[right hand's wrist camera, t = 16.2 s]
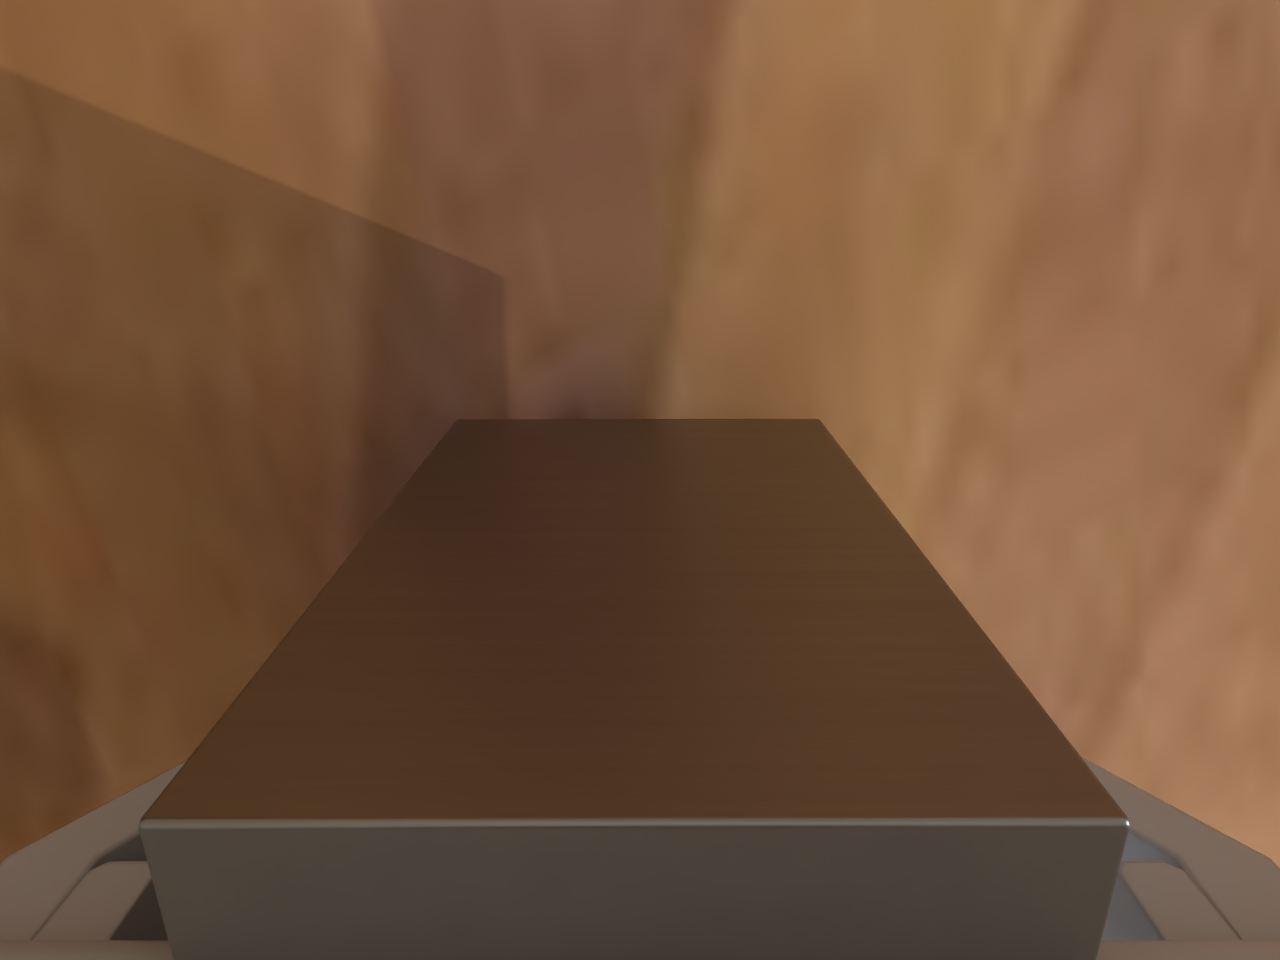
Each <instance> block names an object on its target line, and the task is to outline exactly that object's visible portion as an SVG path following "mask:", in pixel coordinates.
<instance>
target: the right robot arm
mask: <svg viewBox="0 0 1280 960" xmlns="http://www.w3.org/2000/svg"><path fill="white" fill-rule="evenodd" d="M1081 758H1082V757H1081ZM1082 759H1083V760H1084V762H1085V763H1086V764H1087V765H1088V767H1089V768H1090V769H1091V771H1092V772H1093V773H1094V775H1095V776H1096V777H1097V778H1098V780H1099V781H1100V782H1101V784H1102V785H1103V786H1104V787H1105V789H1106V790H1107V791H1108V793H1109V794H1110V795H1111V796H1112V798H1113V799H1114V800H1115V802H1116V803H1117V804H1118V805H1119V807H1120V808H1121V809H1122V811H1123V812H1124V813H1125V815H1126V816H1127V817H1128V821H1129V826H1130V828H1129V832H1128V836H1127V840H1126V844H1125V848H1124V852H1123V856H1122V860H1121V864H1120V867H1119V871H1118V875H1117V879H1116V883H1115V887H1114V891H1113V895H1112V899H1111V903H1110V907H1109V910H1108V914H1107V918H1106V922H1105V926H1104V930H1103V934H1102V938H1101V942H1100V946H1099V950H1098V953H1097V957H1096V960H1280V868H1279V867H1278V866H1277V865H1276V864H1275V863H1274V862H1273V861H1272V860H1271V859H1270V858H1268V857H1266V856H1264V855H1262V854H1261V853H1259V852H1257V851H1255V850H1253V849H1251V848H1249V847H1248V846H1246V845H1244V844H1242V843H1240V842H1238V841H1236V840H1235V839H1233V838H1231V837H1229V836H1227V835H1225V834H1223V833H1222V832H1220V831H1218V830H1216V829H1214V828H1212V827H1210V826H1209V825H1207V824H1205V823H1203V822H1201V821H1199V820H1197V819H1196V818H1194V817H1192V816H1190V815H1188V814H1186V813H1184V812H1183V811H1181V810H1179V809H1177V808H1175V807H1173V806H1172V805H1170V804H1168V803H1166V802H1164V801H1162V800H1160V799H1159V798H1157V797H1155V796H1153V795H1151V794H1149V793H1147V792H1146V791H1144V790H1142V789H1140V788H1138V787H1136V786H1134V785H1133V784H1131V783H1129V782H1127V781H1125V780H1123V779H1121V778H1120V777H1118V776H1116V775H1114V774H1112V773H1110V772H1108V771H1107V770H1105V769H1103V768H1101V767H1099V766H1097V765H1095V764H1094V763H1092V762H1090V761H1088V760H1086V759H1084V758H1082ZM185 762H186V761H185ZM185 762H183V763H181V764H179V765H177V766H175V767H174V768H172V769H170V770H168V771H166V772H164V773H162V774H160V775H159V776H157V777H155V778H153V779H151V780H149V781H147V782H146V783H144V784H142V785H140V786H138V787H136V788H134V789H132V790H131V791H129V792H127V793H125V794H123V795H121V796H119V797H117V798H116V799H114V800H112V801H110V802H108V803H106V804H104V805H102V806H101V807H99V808H97V809H95V810H93V811H91V812H89V813H87V814H86V815H84V816H82V817H80V818H78V819H76V820H74V821H72V822H71V823H69V824H67V825H65V826H63V827H61V828H59V829H58V830H56V831H54V832H52V833H50V834H48V835H46V836H44V837H43V838H41V839H39V840H37V841H35V842H33V843H31V844H29V845H28V846H26V847H24V848H22V849H20V850H18V851H16V852H14V853H13V854H11V855H9V856H7V857H5V858H4V859H3V860H2V861H1V862H0V960H174V959H173V956H172V952H171V948H170V944H169V941H168V937H167V933H166V929H165V926H164V922H163V918H162V915H161V911H160V907H159V903H158V900H157V896H156V892H155V888H154V885H153V881H152V877H151V874H150V870H149V866H148V862H147V859H146V855H145V851H144V847H143V844H142V840H141V836H140V833H139V823H140V820H141V818H142V817H143V815H144V814H145V813H146V811H147V810H148V809H149V808H150V806H151V805H152V804H153V803H154V801H155V800H156V799H157V798H158V796H159V795H160V794H161V793H162V791H163V790H164V789H165V788H166V786H167V785H168V784H169V782H170V781H171V780H172V779H173V777H174V776H175V775H176V774H177V772H178V771H179V770H180V769H181V767H182V766H183V765H184V764H185Z"/></svg>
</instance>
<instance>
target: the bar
mask: <svg viewBox="0 0 1280 960" xmlns="http://www.w3.org/2000/svg"><path fill="white" fill-rule="evenodd" d="M1129 828H1130V826H1129V821H1128V817H1127V816H1126V815H1125V813H1124V812H1123V811H1122V809H1121V808H1120V807H1119V805H1118V804H1117V803H1116V802H1115V800H1114V799H1113V798H1112V796H1111V795H1110V794H1109V793H1108V791H1107V790H1106V789H1105V787H1104V786H1103V785H1102V784H1101V782H1100V781H1099V780H1098V778H1097V777H1096V776H1095V775H1094V773H1093V772H1092V771H1091V769H1090V768H1089V767H1088V765H1087V764H1086V763H1085V762H1084V760H1083V759H1082V758H1081V756H1080V755H1079V754H1078V753H1077V751H1076V750H1075V749H1074V747H1073V746H1072V745H1071V744H1070V742H1069V741H1068V740H1067V738H1066V737H1065V736H1064V735H1063V733H1062V732H1061V731H1060V729H1059V728H1058V727H1057V725H1056V724H1055V723H1054V722H1053V720H1052V719H1051V718H1050V716H1049V715H1048V714H1047V713H1046V711H1045V710H1044V709H1043V707H1042V706H1041V705H1040V704H1039V702H1038V701H1037V700H1036V698H1035V697H1034V696H1033V694H1032V693H1031V692H1030V691H1029V689H1028V688H1027V687H1026V685H1025V684H1024V683H1023V682H1022V680H1021V679H1020V678H1019V676H1018V675H1017V674H1016V673H1015V671H1014V670H1013V669H1012V667H1011V666H1010V665H1009V664H1008V662H1007V661H1006V660H1005V658H1004V657H1003V656H1002V654H1001V653H1000V652H999V651H998V649H997V648H996V647H995V645H994V644H993V643H992V642H991V640H990V639H989V638H988V636H987V635H986V634H985V633H984V631H983V630H982V629H981V627H980V626H979V625H978V623H977V622H976V621H975V620H974V618H973V617H972V616H971V614H970V613H969V612H968V611H967V609H966V608H965V607H964V605H963V604H962V603H961V602H960V600H959V599H958V598H957V596H956V595H955V594H954V593H953V591H952V590H951V589H950V587H949V586H948V585H947V583H946V582H945V581H944V580H943V578H942V577H941V576H940V574H939V573H938V572H937V571H936V569H935V568H934V567H933V565H932V564H931V563H930V562H929V560H928V559H927V558H926V556H925V555H924V554H923V552H922V551H921V550H920V549H919V547H918V546H917V545H916V543H915V542H914V541H913V540H912V538H911V537H910V536H909V534H908V533H907V532H906V531H905V529H904V528H903V527H902V525H901V524H900V523H899V522H898V520H897V519H896V518H895V516H894V515H893V514H892V512H891V511H890V510H889V509H888V507H887V506H886V505H885V503H884V502H883V501H882V500H881V498H880V497H879V496H878V494H877V493H876V492H875V491H874V489H873V488H872V487H871V485H870V484H869V483H868V482H867V480H866V479H865V478H864V476H863V475H862V474H861V472H860V471H859V470H858V469H857V467H856V466H855V465H854V463H853V462H852V461H851V460H850V458H849V457H848V456H847V454H846V453H845V452H844V451H843V449H842V448H841V447H840V445H839V444H838V443H837V441H836V440H835V439H834V438H833V436H832V435H831V434H830V432H829V431H828V430H827V429H826V427H825V426H824V425H823V423H822V422H821V421H820V420H819V419H553V420H457V421H456V422H455V423H454V424H453V425H452V427H451V428H450V429H449V430H448V432H447V433H446V434H445V436H444V437H443V438H442V439H441V441H440V442H439V443H438V444H437V446H436V447H435V448H434V449H433V451H432V452H431V453H430V454H429V456H428V457H427V458H426V460H425V461H424V462H423V463H422V465H421V466H420V467H419V468H418V470H417V471H416V472H415V473H414V475H413V476H412V477H411V478H410V480H409V481H408V482H407V483H406V485H405V486H404V487H403V489H402V490H401V491H400V492H399V494H398V495H397V496H396V497H395V499H394V500H393V501H392V502H391V504H390V505H389V506H388V507H387V509H386V510H385V511H384V512H383V514H382V515H381V516H380V518H379V519H378V520H377V521H376V523H375V524H374V525H373V526H372V528H371V529H370V530H369V531H368V533H367V534H366V535H365V536H364V538H363V539H362V540H361V542H360V543H359V544H358V545H357V547H356V548H355V549H354V550H353V552H352V553H351V554H350V555H349V557H348V558H347V559H346V560H345V562H344V563H343V564H342V565H341V567H340V568H339V569H338V571H337V572H336V573H335V574H334V576H333V577H332V578H331V579H330V581H329V582H328V583H327V584H326V586H325V587H324V588H323V589H322V591H321V592H320V593H319V594H318V596H317V597H316V598H315V600H314V601H313V602H312V603H311V605H310V606H309V607H308V608H307V610H306V611H305V612H304V613H303V615H302V616H301V617H300V618H299V620H298V621H297V622H296V624H295V625H294V626H293V627H292V629H291V630H290V631H289V632H288V634H287V635H286V636H285V637H284V639H283V640H282V641H281V642H280V644H279V645H278V646H277V647H276V649H275V650H274V651H273V653H272V654H271V655H270V656H269V658H268V659H267V660H266V661H265V663H264V664H263V665H262V666H261V668H260V669H259V670H258V671H257V673H256V674H255V675H254V676H253V678H252V679H251V680H250V682H249V683H248V684H247V685H246V687H245V688H244V689H243V690H242V692H241V693H240V694H239V695H238V697H237V698H236V699H235V700H234V702H233V703H232V704H231V706H230V707H229V708H228V709H227V711H226V712H225V713H224V714H223V716H222V717H221V718H220V719H219V721H218V722H217V723H216V724H215V726H214V727H213V728H212V729H211V731H210V732H209V733H208V735H207V736H206V737H205V738H204V740H203V741H202V742H201V743H200V745H199V746H198V747H197V748H196V750H195V751H194V752H193V753H192V755H191V756H190V757H189V758H188V760H187V761H186V762H185V764H184V765H183V766H182V767H181V769H180V770H179V771H178V772H177V774H176V775H175V776H174V777H173V779H172V780H171V781H170V782H169V784H168V785H167V786H166V788H165V789H164V790H163V791H162V793H161V794H160V795H159V796H158V798H157V799H156V800H155V801H154V803H153V804H152V805H151V806H150V808H149V809H148V810H147V811H146V813H145V814H144V815H143V817H142V818H141V820H140V823H139V833H140V836H141V840H142V844H143V847H144V851H145V855H146V859H147V862H148V866H149V870H150V874H151V877H152V881H153V885H154V888H155V892H156V896H157V900H158V903H159V907H160V911H161V915H162V918H163V922H164V926H165V929H166V933H167V937H168V941H169V944H170V948H171V952H172V956H173V959H174V960H1096V957H1097V953H1098V950H1099V946H1100V942H1101V938H1102V934H1103V930H1104V926H1105V922H1106V918H1107V914H1108V910H1109V907H1110V903H1111V899H1112V895H1113V891H1114V887H1115V883H1116V879H1117V875H1118V871H1119V867H1120V864H1121V860H1122V856H1123V852H1124V848H1125V844H1126V840H1127V836H1128V832H1129Z"/></svg>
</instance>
